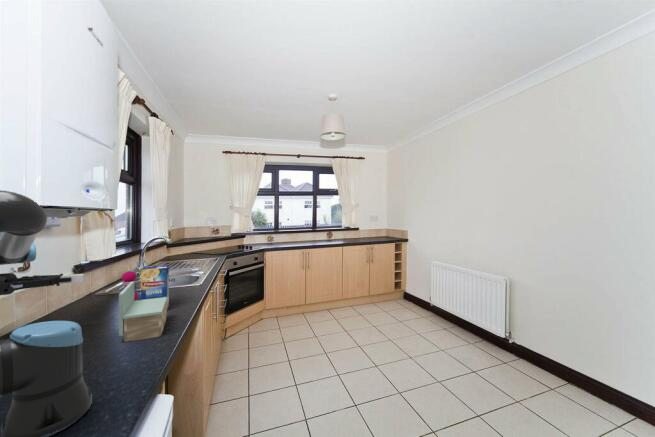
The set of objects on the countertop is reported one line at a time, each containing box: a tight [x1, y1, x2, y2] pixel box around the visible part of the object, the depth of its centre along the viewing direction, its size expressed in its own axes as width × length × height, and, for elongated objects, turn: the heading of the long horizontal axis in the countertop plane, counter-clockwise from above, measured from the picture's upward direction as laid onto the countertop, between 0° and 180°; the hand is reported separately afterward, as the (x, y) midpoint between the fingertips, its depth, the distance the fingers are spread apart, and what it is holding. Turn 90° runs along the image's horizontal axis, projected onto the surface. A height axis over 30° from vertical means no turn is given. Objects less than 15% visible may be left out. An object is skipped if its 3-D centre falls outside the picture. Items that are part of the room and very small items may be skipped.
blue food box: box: [140, 264, 170, 312], centre depth 131 cm, size 7×11×22 cm, turn 115°
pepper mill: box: [121, 268, 139, 301], centre depth 134 cm, size 7×7×20 cm
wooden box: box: [123, 303, 167, 343], centre depth 110 cm, size 18×12×9 cm, turn 26°
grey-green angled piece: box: [118, 281, 167, 337], centre depth 110 cm, size 19×14×16 cm
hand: (83, 277), depth 101 cm, fingers closed
